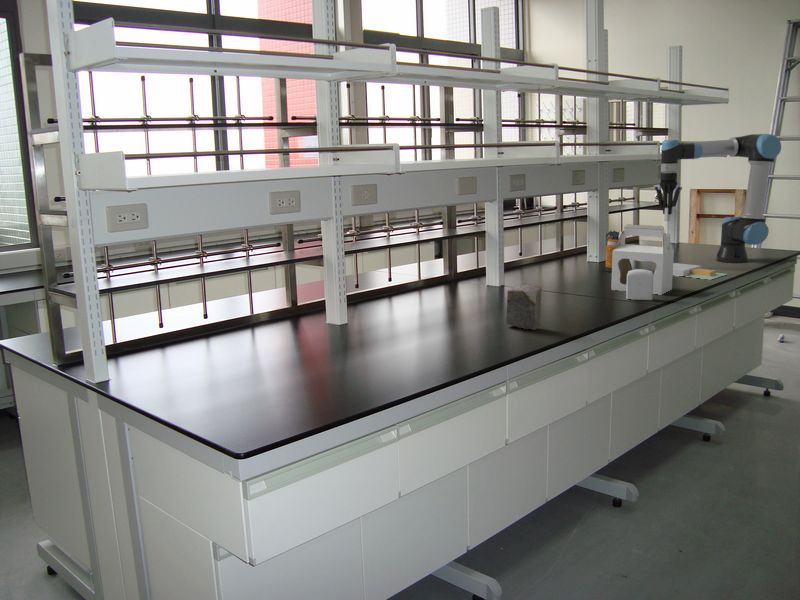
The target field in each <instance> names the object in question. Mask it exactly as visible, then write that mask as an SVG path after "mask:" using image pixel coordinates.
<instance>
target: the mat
mask: <svg viewBox="0 0 800 600" xmlns="http://www.w3.org/2000/svg"><path fill="white" fill-rule="evenodd" d="M725 275H726V276H728V273H721V272H716V275H713V276H702V275H693V274H692V275H688V276H685V277H684V278H687V277H692V278H691V279H696V278H700V279H699V280H704V279H708V280H707V281H712V279H713V280H715V278H716V279H719V278H721V276H722V277H725ZM718 277H719V278H718Z"/></svg>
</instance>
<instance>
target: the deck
mask: <svg viewBox="0 0 800 600" xmlns="http://www.w3.org/2000/svg"><path fill="white" fill-rule="evenodd" d="M697 268H698V269H702V265H697V264H690V263H688V264H687V263H677V262H673V275H674V276H673V277H679V276H687V275H690V274H691V270H693V269H697ZM655 270H656V267H655ZM655 270H654V271H655Z"/></svg>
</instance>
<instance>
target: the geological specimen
mask: <svg viewBox="0 0 800 600" xmlns="http://www.w3.org/2000/svg"><path fill="white" fill-rule="evenodd" d="M506 295H507V296H506V320H505V322H506V323H505V324H506V325H507V326H510V327H511V326H512V327H513V326H514V327H517V328H519V329H521V328H523V329H522V330H528V329H531V330H533V331H536V330H537V329H539V327H540V326H541V317H542V316H541V315H542V314H541V313H542V312H541V311H542V310H541V308H542V307H541V306H542V304H541V301H542V286H541V287H540V286H539V285H531V284H527V285H525V284H522V285H516V286H512V287H510V288H509V289H508V290H507V293H506ZM531 330H530V331H531Z"/></svg>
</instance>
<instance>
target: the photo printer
mask: <svg viewBox="0 0 800 600" xmlns="http://www.w3.org/2000/svg"><path fill="white" fill-rule="evenodd" d="M653 274H654V273H653V271H651V270H648V269H643V268H637V269H632V270H631V271H628V274H627V287H626V292H625V297H626V300H627V299H631V300H632V301H637V300H638V301H653V298H654V295H653ZM631 300H630V301H631Z"/></svg>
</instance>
